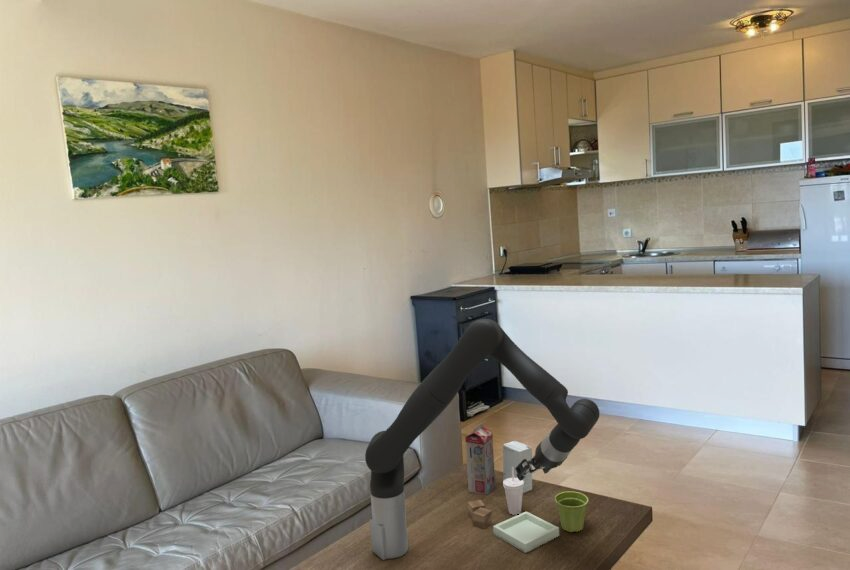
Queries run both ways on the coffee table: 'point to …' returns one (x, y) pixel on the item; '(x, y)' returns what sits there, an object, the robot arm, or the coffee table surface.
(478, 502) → the walnut block
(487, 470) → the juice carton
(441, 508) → the coffee table surface
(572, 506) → the plant pot
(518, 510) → the smoothie
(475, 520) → the walnut block
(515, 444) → the skincare box
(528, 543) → the dish
